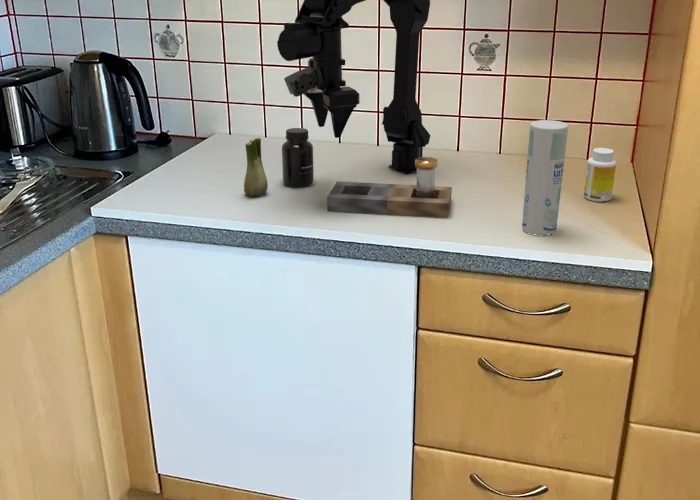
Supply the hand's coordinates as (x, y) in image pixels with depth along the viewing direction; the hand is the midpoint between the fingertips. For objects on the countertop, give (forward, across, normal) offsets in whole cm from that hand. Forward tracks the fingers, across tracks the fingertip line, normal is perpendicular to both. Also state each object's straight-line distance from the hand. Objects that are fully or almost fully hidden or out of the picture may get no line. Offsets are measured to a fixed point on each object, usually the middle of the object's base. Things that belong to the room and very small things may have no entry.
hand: (329, 131), depth 154 cm
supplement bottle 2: (+14, +24, +50) cm, 57 cm away
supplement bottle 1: (+14, -10, -4) cm, 18 cm away
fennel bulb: (+14, -7, -14) cm, 21 cm away
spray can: (+14, +34, +28) cm, 46 cm away
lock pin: (+14, +15, +15) cm, 25 cm away
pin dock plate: (+14, +11, +9) cm, 20 cm away
